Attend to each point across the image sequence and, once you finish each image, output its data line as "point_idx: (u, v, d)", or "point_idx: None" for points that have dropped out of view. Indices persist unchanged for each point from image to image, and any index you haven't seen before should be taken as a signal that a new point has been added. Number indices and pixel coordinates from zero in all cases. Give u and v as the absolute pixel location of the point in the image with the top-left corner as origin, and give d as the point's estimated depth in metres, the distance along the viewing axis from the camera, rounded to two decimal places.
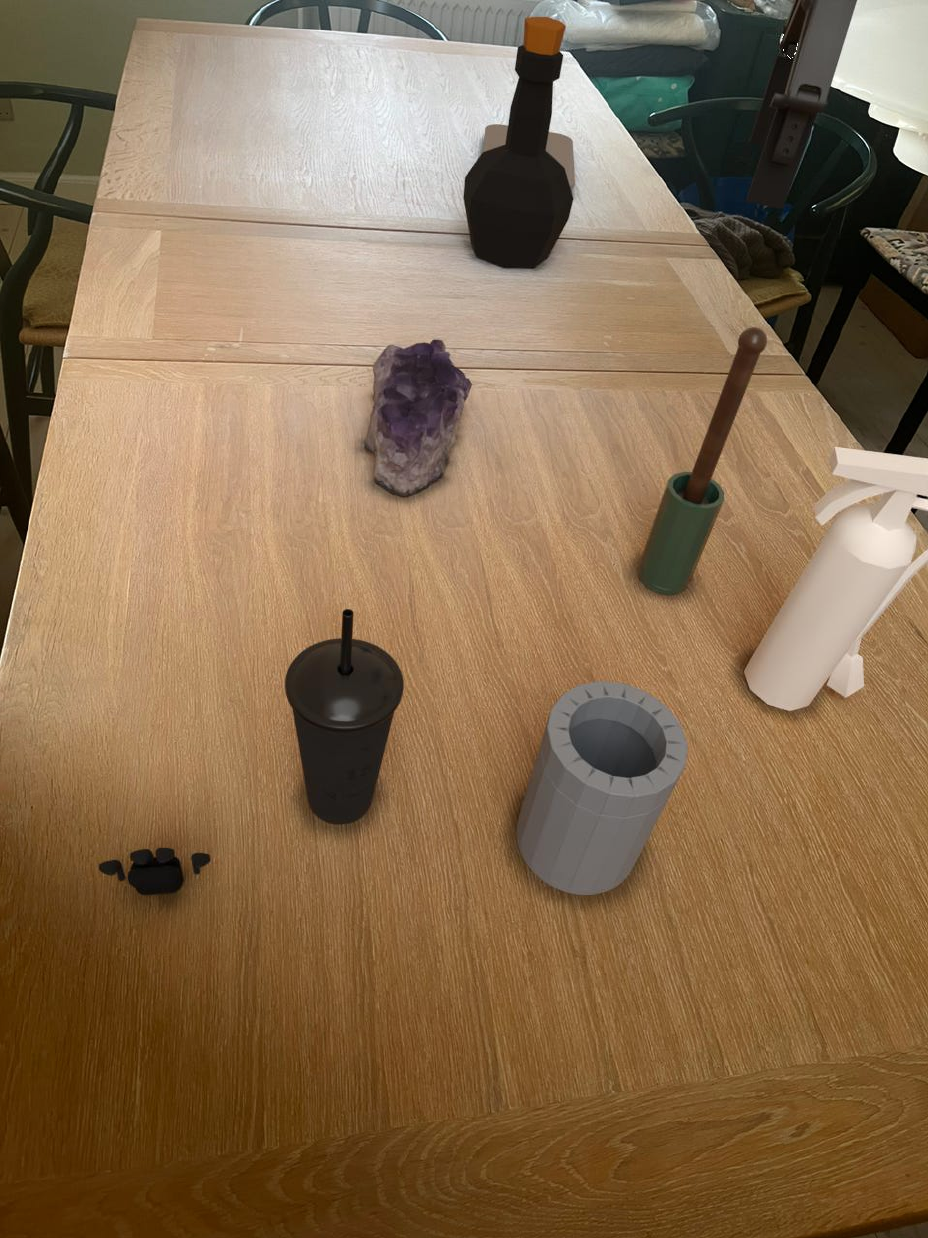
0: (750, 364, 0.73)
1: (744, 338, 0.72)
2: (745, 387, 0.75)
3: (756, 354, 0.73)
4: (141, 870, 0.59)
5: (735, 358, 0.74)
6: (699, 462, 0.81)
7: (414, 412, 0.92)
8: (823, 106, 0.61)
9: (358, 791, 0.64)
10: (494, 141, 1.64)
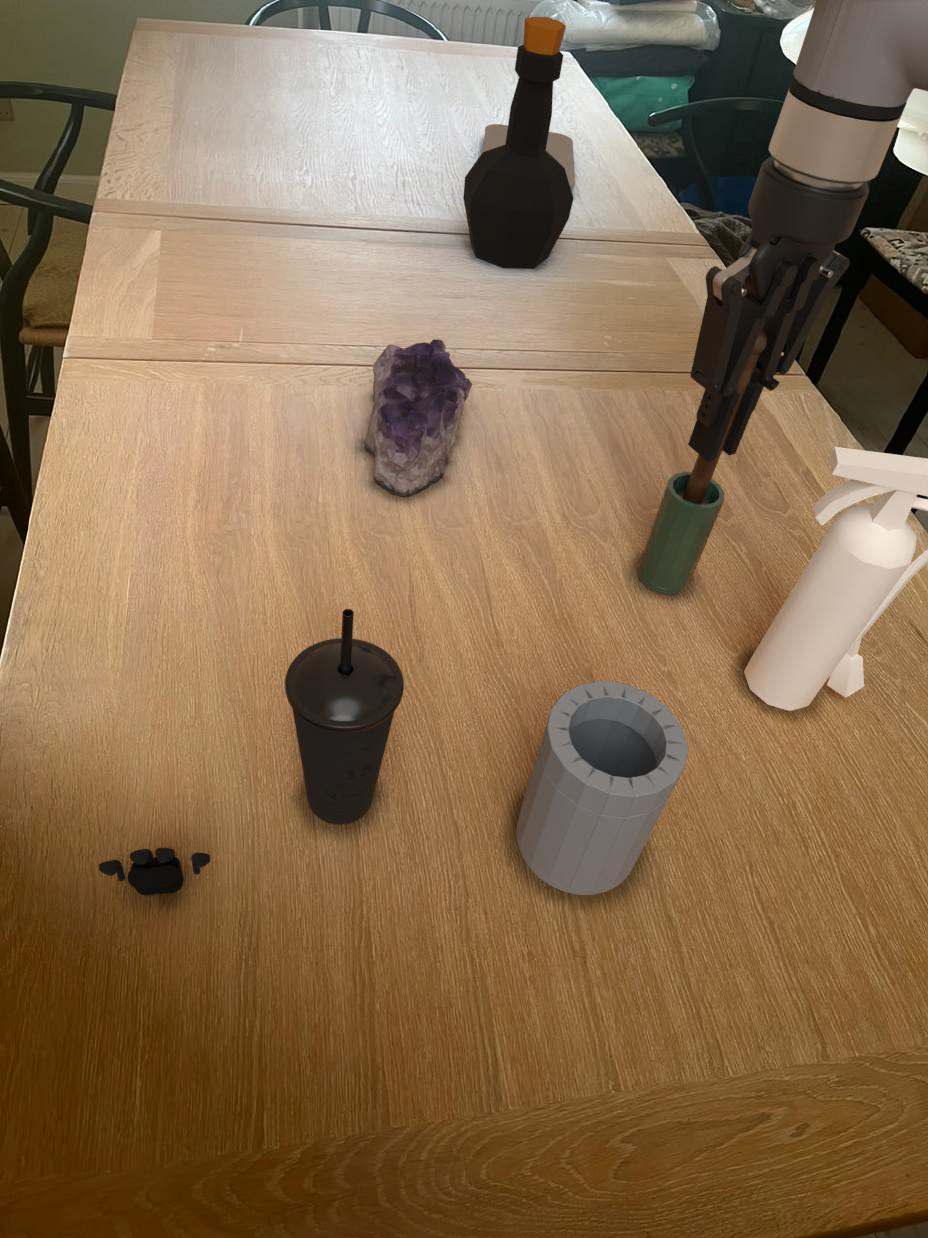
0: (750, 364, 0.73)
1: None
2: (745, 387, 0.75)
3: (756, 354, 0.73)
4: (141, 870, 0.59)
5: None
6: (699, 462, 0.81)
7: (414, 412, 0.92)
8: (710, 391, 0.72)
9: (358, 791, 0.64)
10: (494, 141, 1.64)
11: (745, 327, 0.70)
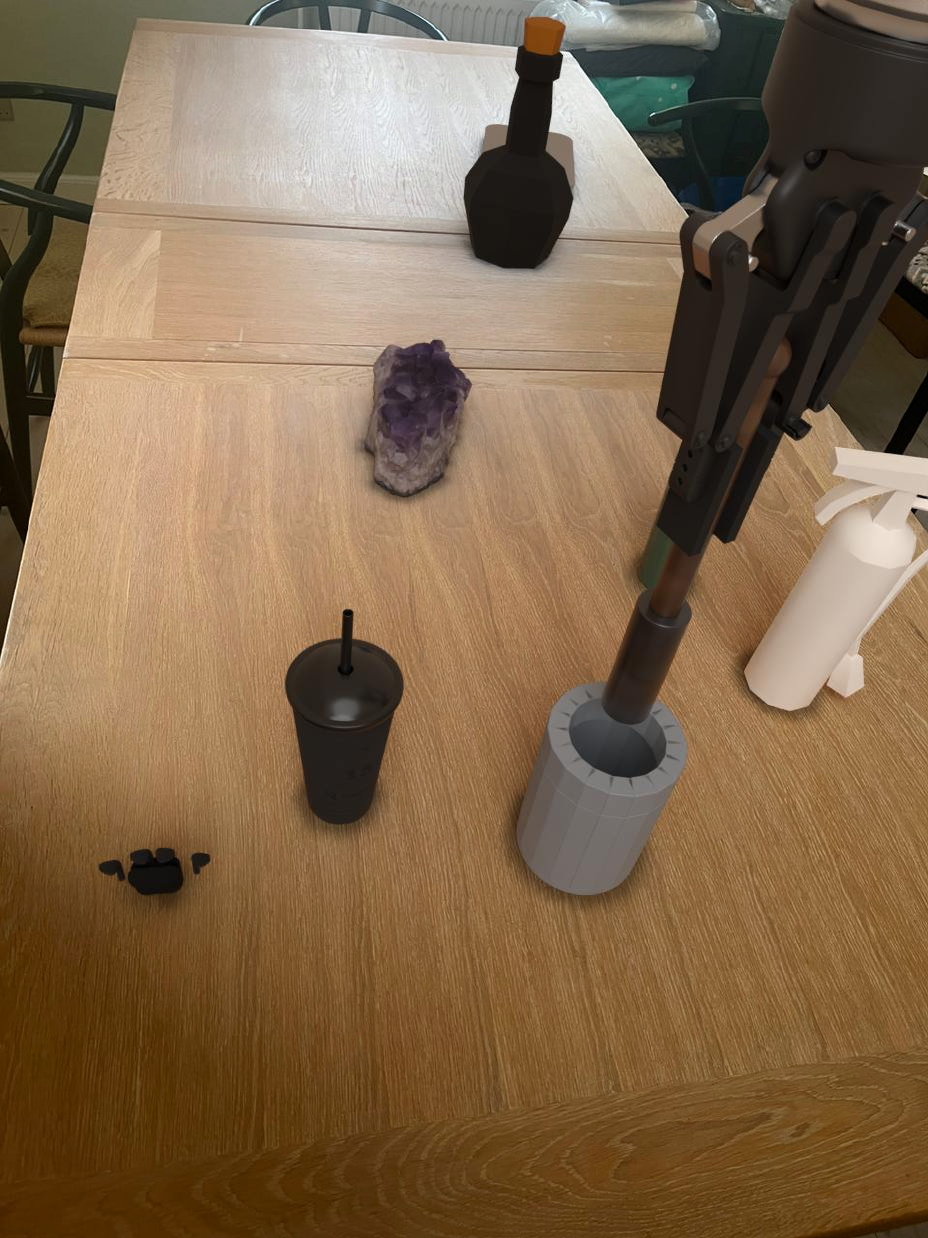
0: (762, 396, 0.41)
1: None
2: (752, 434, 0.43)
3: (771, 378, 0.41)
4: (141, 870, 0.59)
5: None
6: (675, 552, 0.49)
7: (414, 412, 0.92)
8: (690, 446, 0.40)
9: (358, 791, 0.64)
10: (494, 141, 1.64)
11: (754, 331, 0.38)
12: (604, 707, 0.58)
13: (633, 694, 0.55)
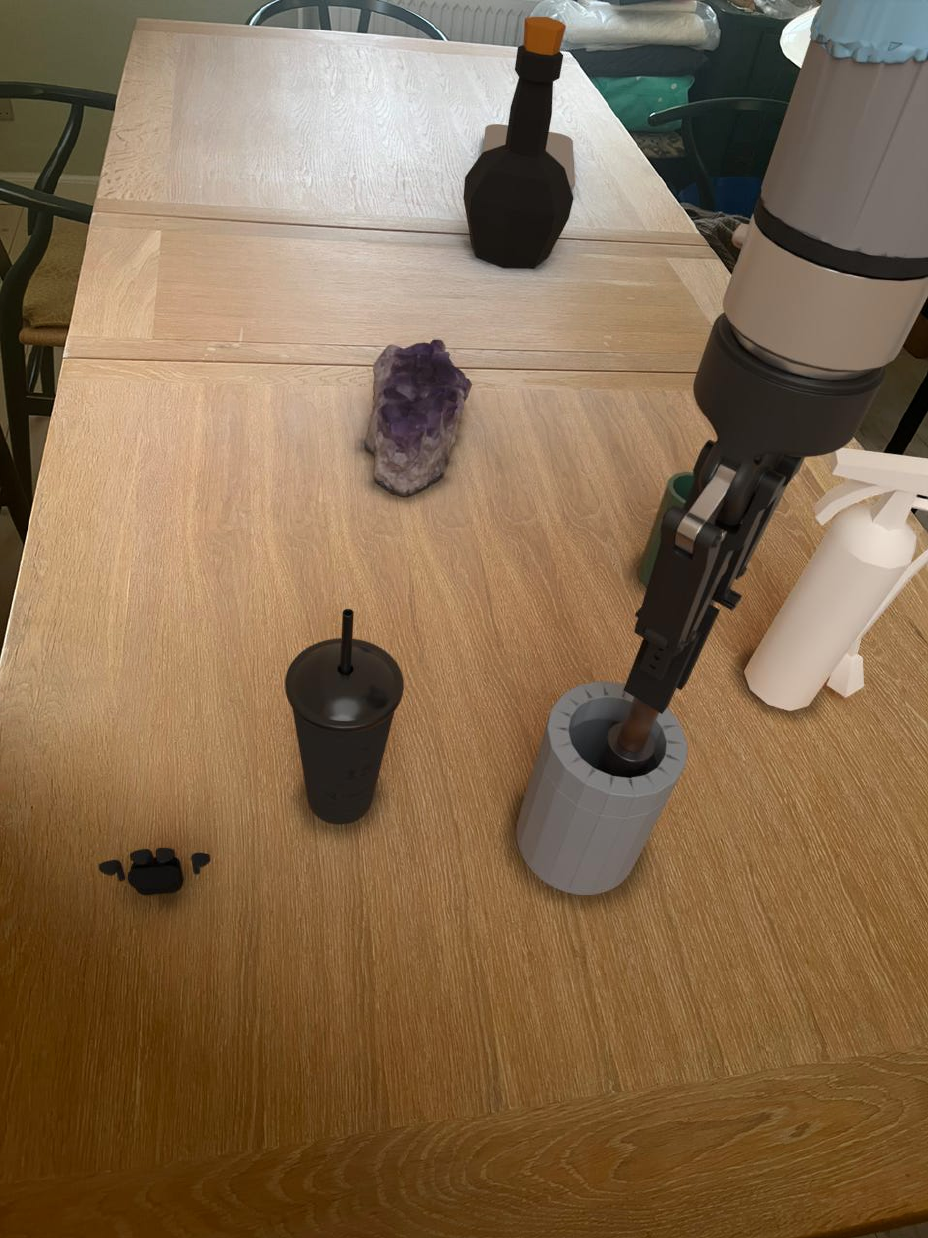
0: None
1: None
2: None
3: None
4: (141, 870, 0.59)
5: None
6: (641, 706, 0.56)
7: (414, 412, 0.92)
8: (673, 655, 0.48)
9: (358, 791, 0.64)
10: (494, 141, 1.64)
11: None
12: None
13: None
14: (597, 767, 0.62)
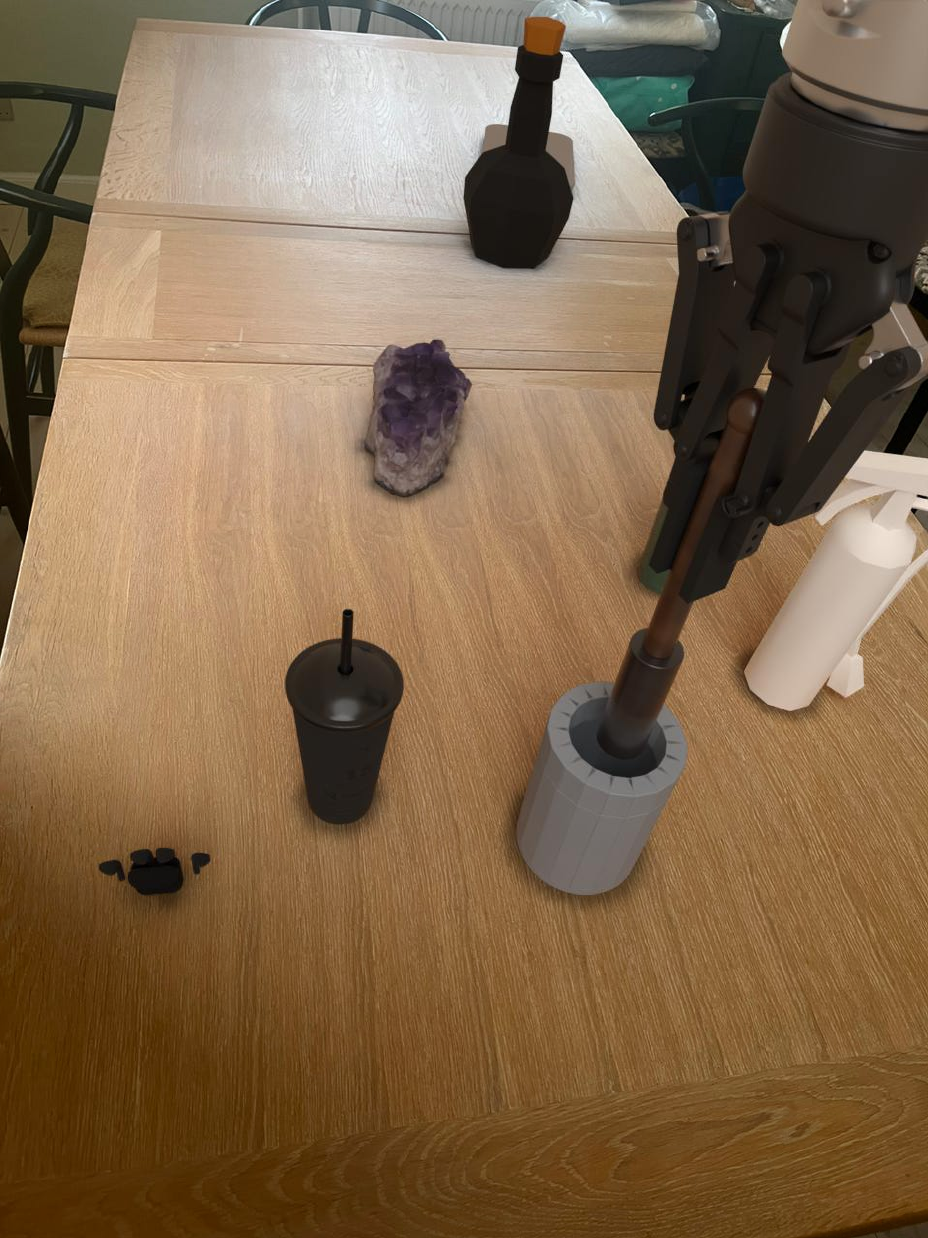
0: None
1: None
2: None
3: None
4: (141, 870, 0.59)
5: (745, 452, 0.42)
6: (689, 604, 0.49)
7: (414, 412, 0.92)
8: (816, 511, 0.42)
9: (358, 791, 0.64)
10: (494, 141, 1.64)
11: (815, 398, 0.39)
12: (632, 756, 0.58)
13: None
14: (640, 700, 0.54)
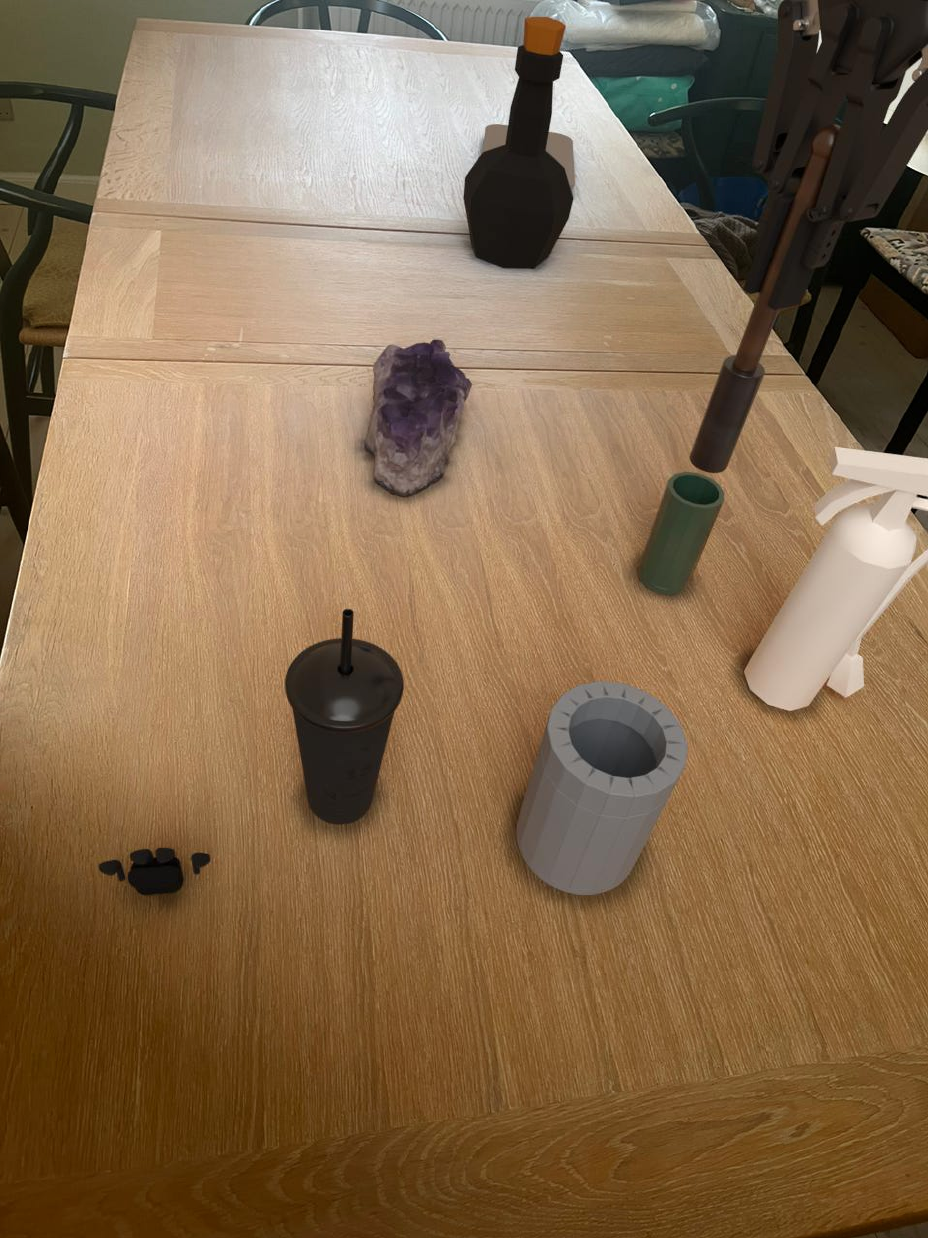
0: None
1: None
2: None
3: None
4: (141, 870, 0.59)
5: (824, 174, 0.59)
6: (773, 318, 0.66)
7: (414, 412, 0.92)
8: (874, 215, 0.59)
9: (358, 791, 0.64)
10: (494, 141, 1.64)
11: (877, 123, 0.56)
12: (719, 470, 0.75)
13: (738, 437, 0.74)
14: (730, 410, 0.71)
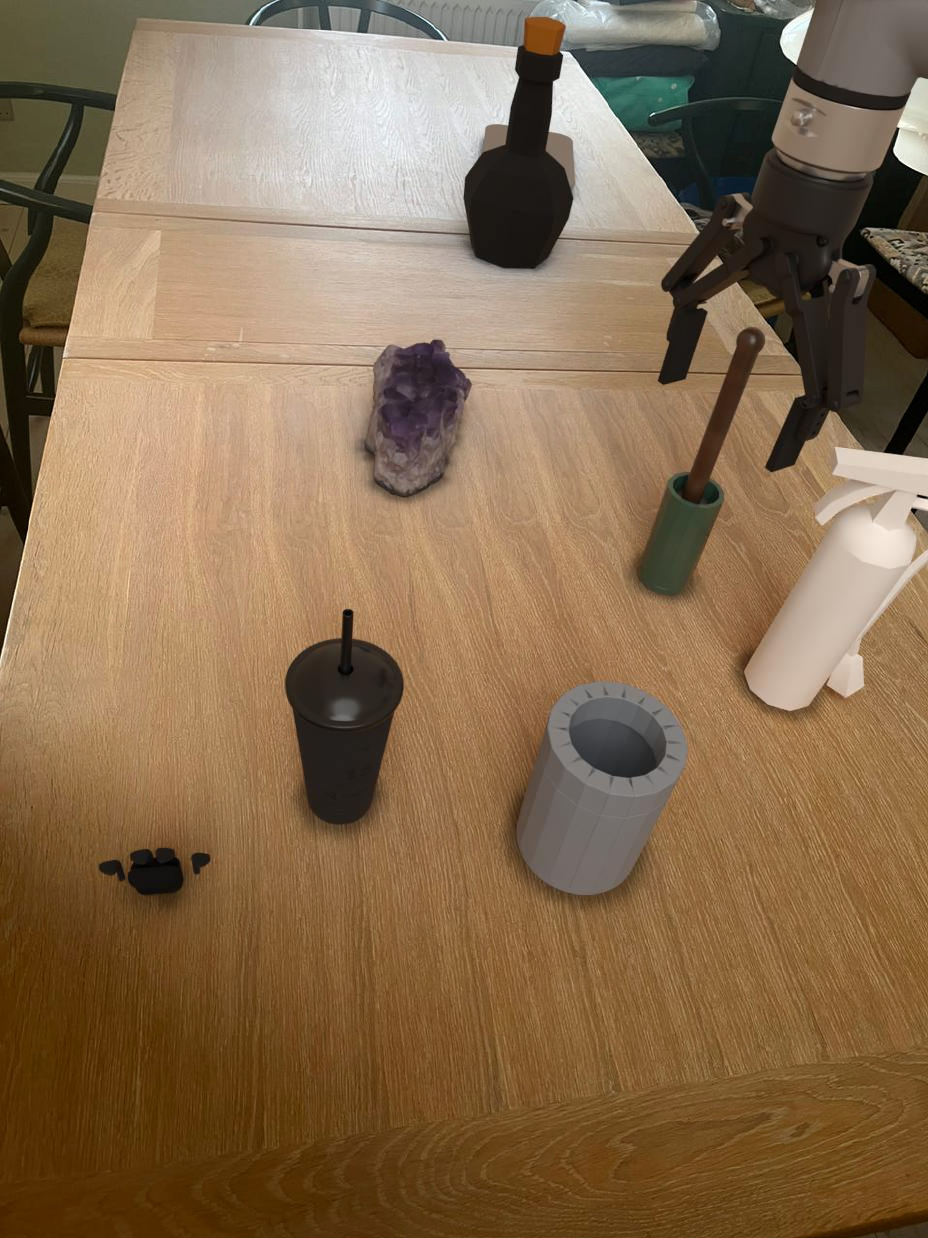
0: None
1: (760, 343, 0.72)
2: None
3: None
4: (141, 870, 0.59)
5: (747, 364, 0.73)
6: (711, 466, 0.80)
7: (414, 412, 0.92)
8: (861, 401, 0.67)
9: (358, 791, 0.64)
10: (494, 141, 1.64)
11: (823, 323, 0.67)
12: None
13: None
14: None
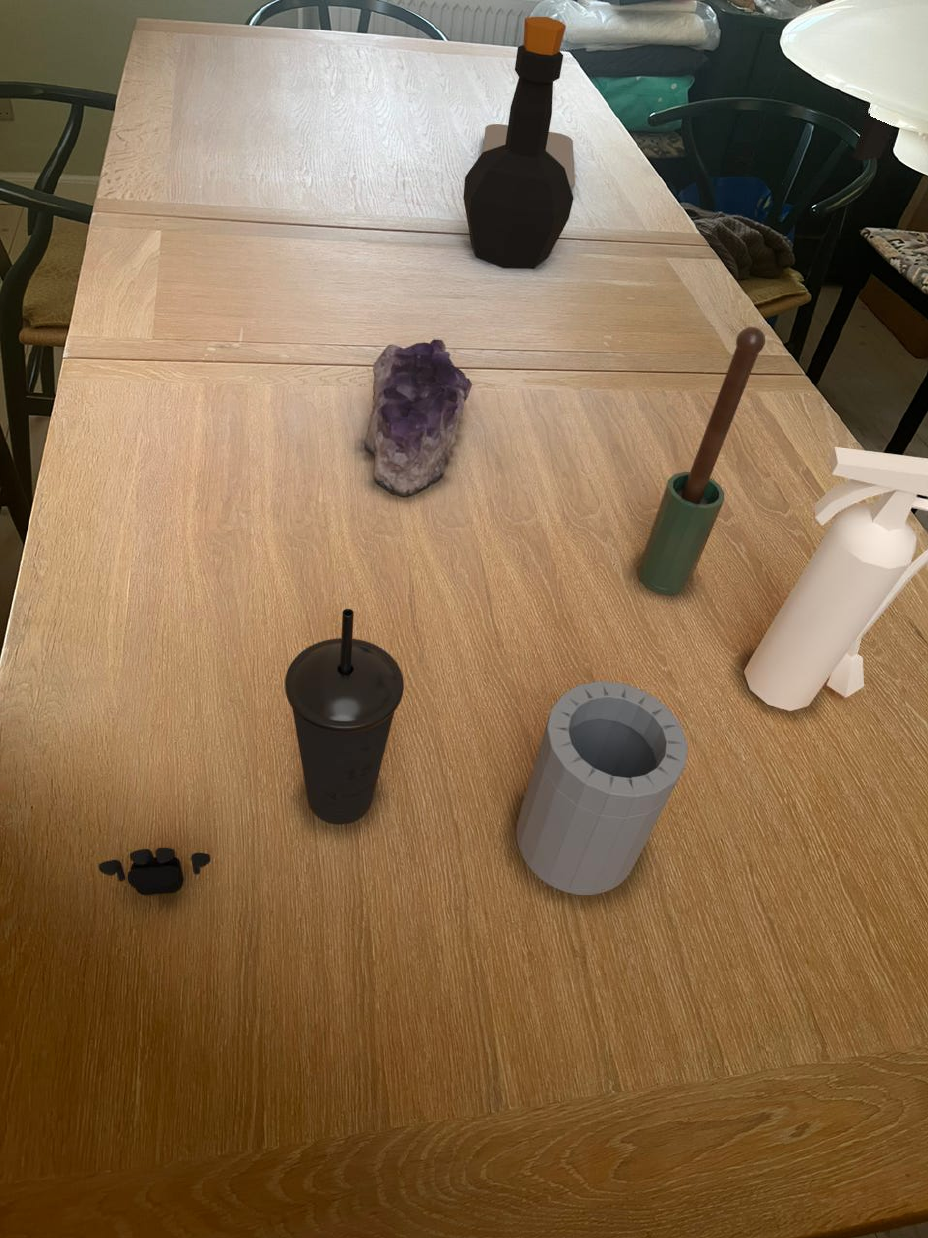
0: None
1: (760, 343, 0.72)
2: None
3: None
4: (141, 870, 0.59)
5: (747, 364, 0.73)
6: (711, 466, 0.80)
7: (414, 412, 0.92)
8: None
9: (358, 791, 0.64)
10: (494, 141, 1.64)
11: None
12: None
13: None
14: None
